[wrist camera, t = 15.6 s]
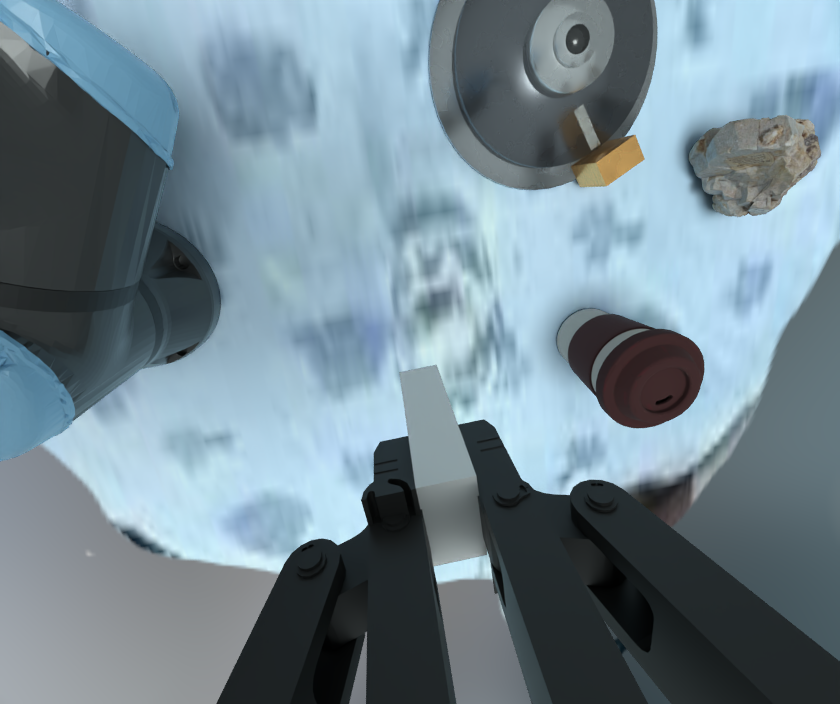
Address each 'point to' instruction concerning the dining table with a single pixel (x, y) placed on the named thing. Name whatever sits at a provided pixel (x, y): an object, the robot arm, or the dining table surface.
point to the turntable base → (462, 134)
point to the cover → (568, 46)
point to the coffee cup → (632, 366)
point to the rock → (754, 162)
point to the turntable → (540, 115)
